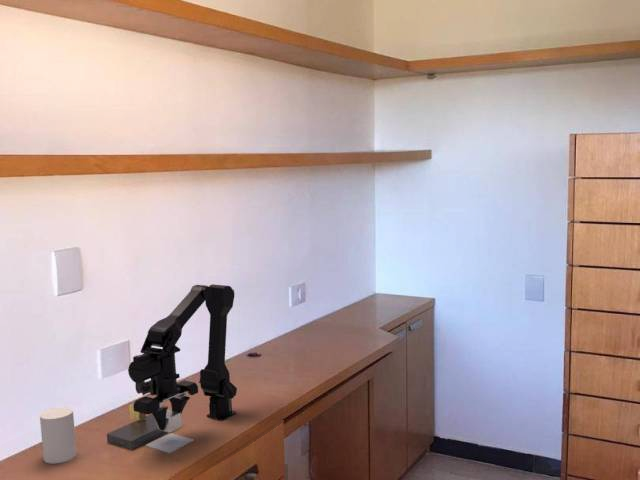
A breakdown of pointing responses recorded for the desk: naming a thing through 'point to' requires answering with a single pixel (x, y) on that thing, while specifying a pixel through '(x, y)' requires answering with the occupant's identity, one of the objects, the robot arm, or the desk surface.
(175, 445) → the felt mat
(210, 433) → the desk surface
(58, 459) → the cup
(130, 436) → the dark grey base plate
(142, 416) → the block
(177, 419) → the light grey block
